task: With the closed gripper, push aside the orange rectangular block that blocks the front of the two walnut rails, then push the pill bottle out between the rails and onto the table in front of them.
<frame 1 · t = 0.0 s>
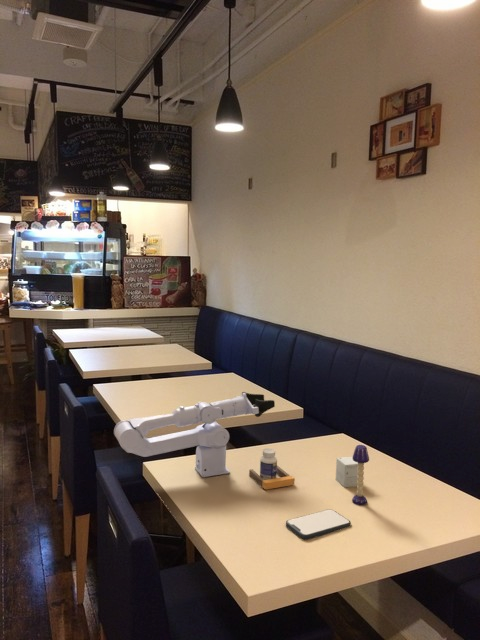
hand: (268, 400, 172), 22 cm above the table, tool horizontal, fingers open, 7 cm apart
pill bottle: (268, 478, 163), on the table
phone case: (318, 527, 134), on the table
orange rectangular block: (278, 482, 156), point 1 cm above the table, slide at 0.0 cm
product box: (348, 483, 161), on the table
toy lamp: (358, 502, 148), on the table
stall: (268, 478, 162), on the table
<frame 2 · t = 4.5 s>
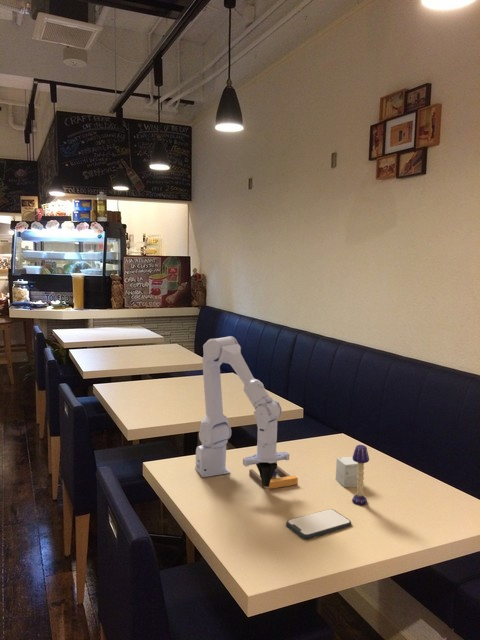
hand: (265, 485, 154), 1 cm above the table, tool pointing down, fingers closed
orange rectangular block: (281, 481, 157), point 1 cm above the table, slide at 1.2 cm, touching gripper
everything else where it was.
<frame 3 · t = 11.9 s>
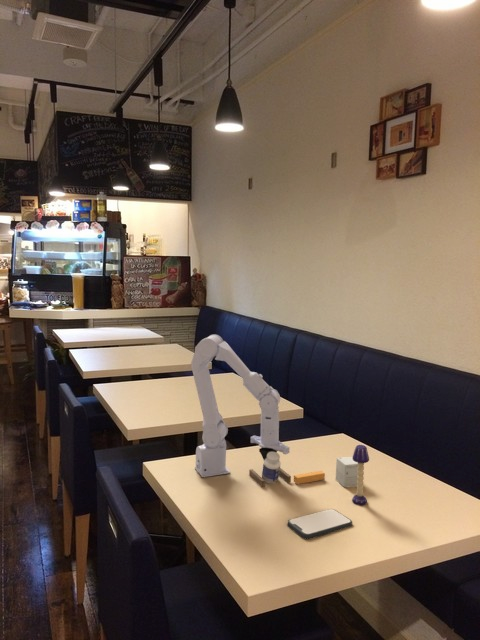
hand: (269, 469, 164), 2 cm above the table, tool pointing down, fingers closed, pressing on pill bottle
pill bottle: (269, 478, 161), on the table, touching gripper
orange rectangular block: (309, 477, 161), point 1 cm above the table, slide at 10.9 cm
everything else where it was.
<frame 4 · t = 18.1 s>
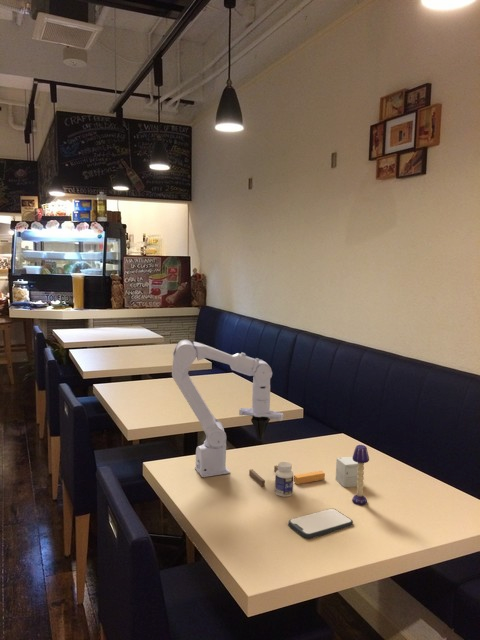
hand: (260, 438, 168), 10 cm above the table, tool pointing down, fingers closed
pill bottle: (283, 493, 152), on the table
everything else where it was.
at the end: orange rectangular block slide at 10.9 cm; pill bottle inside the target area (2.7 cm from its centre), on the table; pill bottle tilted 0° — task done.
